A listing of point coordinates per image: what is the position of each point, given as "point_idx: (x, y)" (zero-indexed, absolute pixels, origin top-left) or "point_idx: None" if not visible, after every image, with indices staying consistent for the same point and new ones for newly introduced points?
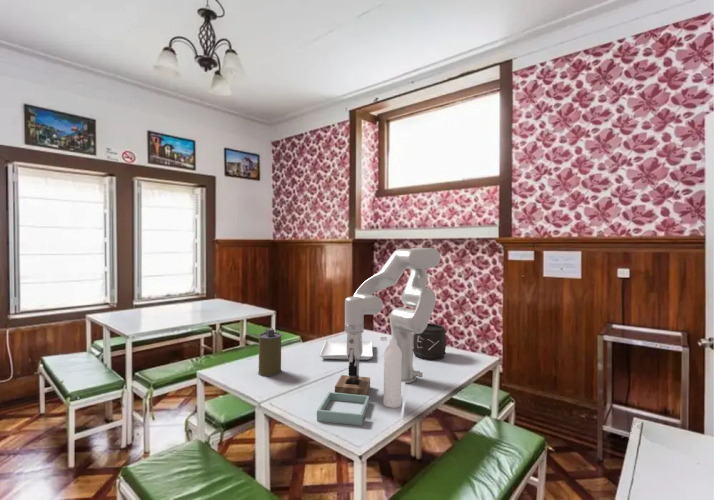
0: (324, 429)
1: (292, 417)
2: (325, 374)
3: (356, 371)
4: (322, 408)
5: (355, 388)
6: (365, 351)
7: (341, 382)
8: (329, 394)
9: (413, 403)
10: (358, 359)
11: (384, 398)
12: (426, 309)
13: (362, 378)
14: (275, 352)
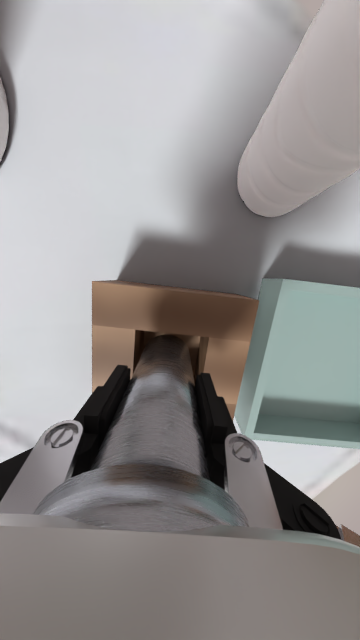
0: None
1: (332, 478)
2: (13, 450)
3: (215, 391)
4: (348, 433)
5: (247, 349)
6: None
7: None
8: (264, 433)
9: (244, 52)
10: (222, 490)
11: (312, 197)
12: None
13: (116, 323)
14: None
